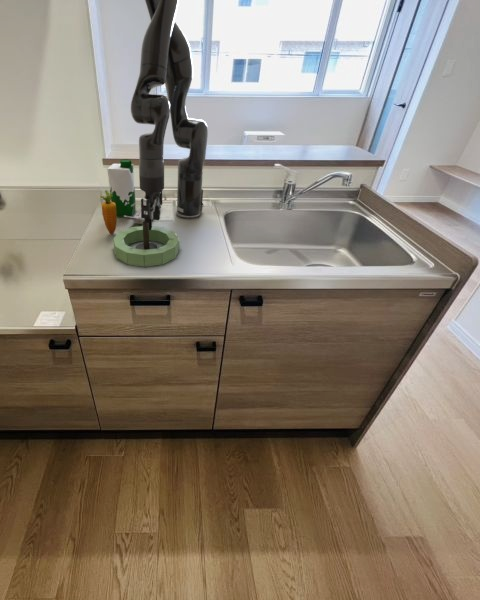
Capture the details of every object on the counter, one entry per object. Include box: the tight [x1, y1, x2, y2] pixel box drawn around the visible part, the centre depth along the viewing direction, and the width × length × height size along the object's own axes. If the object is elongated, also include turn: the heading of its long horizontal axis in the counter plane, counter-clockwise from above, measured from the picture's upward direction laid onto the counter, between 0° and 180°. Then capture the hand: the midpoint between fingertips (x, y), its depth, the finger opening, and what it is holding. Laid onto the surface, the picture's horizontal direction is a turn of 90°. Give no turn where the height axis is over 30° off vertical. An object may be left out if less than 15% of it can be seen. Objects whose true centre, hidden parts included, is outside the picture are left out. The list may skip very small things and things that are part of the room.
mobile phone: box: [123, 207, 162, 225], centre depth 119 cm, size 6×6×25 cm
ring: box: [112, 225, 180, 268], centre depth 100 cm, size 20×20×4 cm
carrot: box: [99, 189, 118, 236], centre depth 105 cm, size 5×5×15 cm
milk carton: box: [106, 158, 136, 218], centre depth 119 cm, size 9×9×20 cm
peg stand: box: [135, 221, 159, 250], centre depth 98 cm, size 7×7×10 cm
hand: (152, 224), depth 104 cm, fingers open, 8 cm apart
